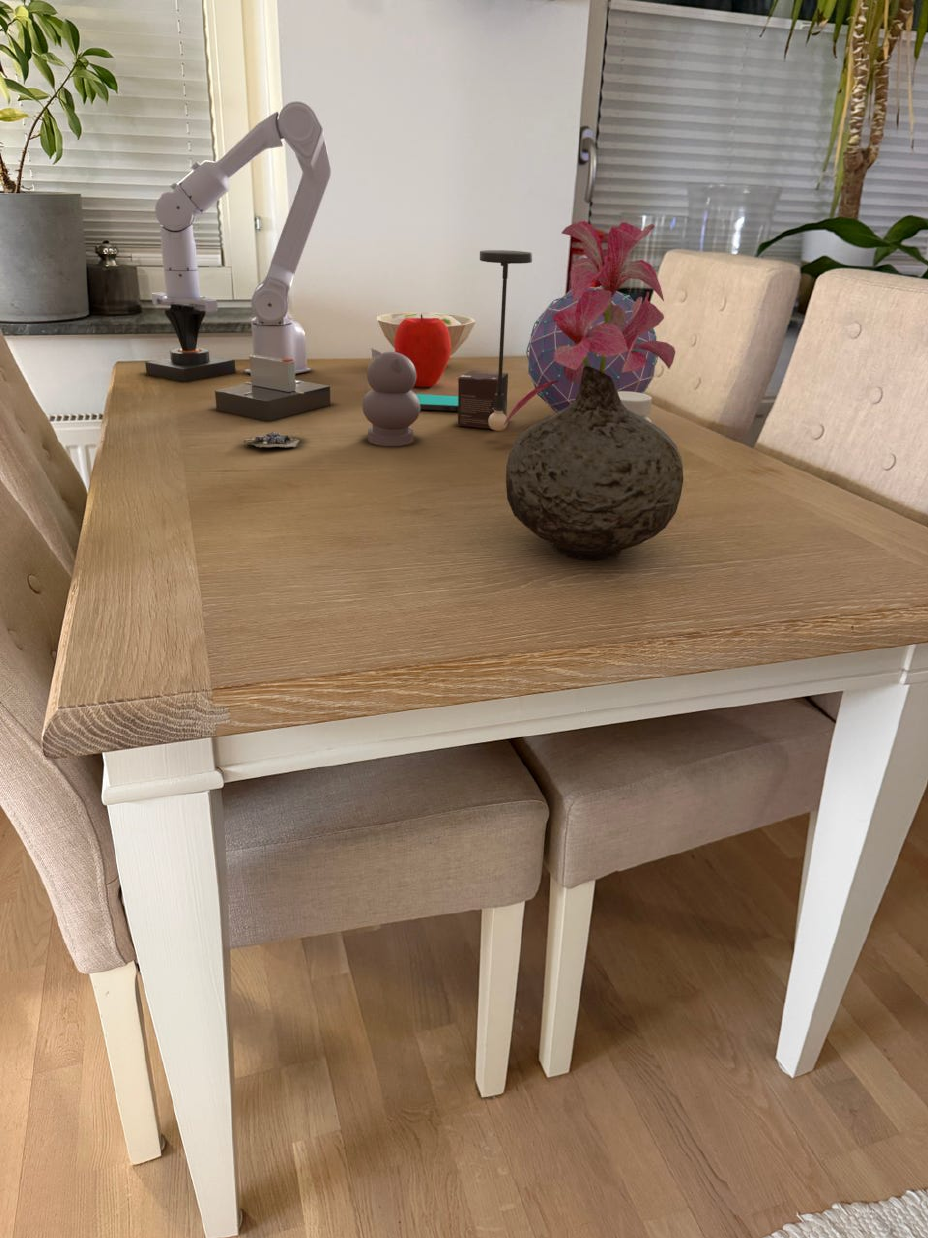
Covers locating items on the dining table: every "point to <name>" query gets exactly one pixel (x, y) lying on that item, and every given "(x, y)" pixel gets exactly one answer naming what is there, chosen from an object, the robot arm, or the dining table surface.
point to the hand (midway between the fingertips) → (189, 350)
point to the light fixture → (502, 324)
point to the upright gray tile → (272, 373)
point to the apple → (424, 347)
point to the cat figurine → (391, 399)
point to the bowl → (454, 323)
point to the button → (189, 351)
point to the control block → (190, 366)
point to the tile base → (272, 400)
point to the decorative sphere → (551, 338)
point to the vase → (598, 421)
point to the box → (479, 397)
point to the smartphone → (438, 402)
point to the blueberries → (272, 441)
